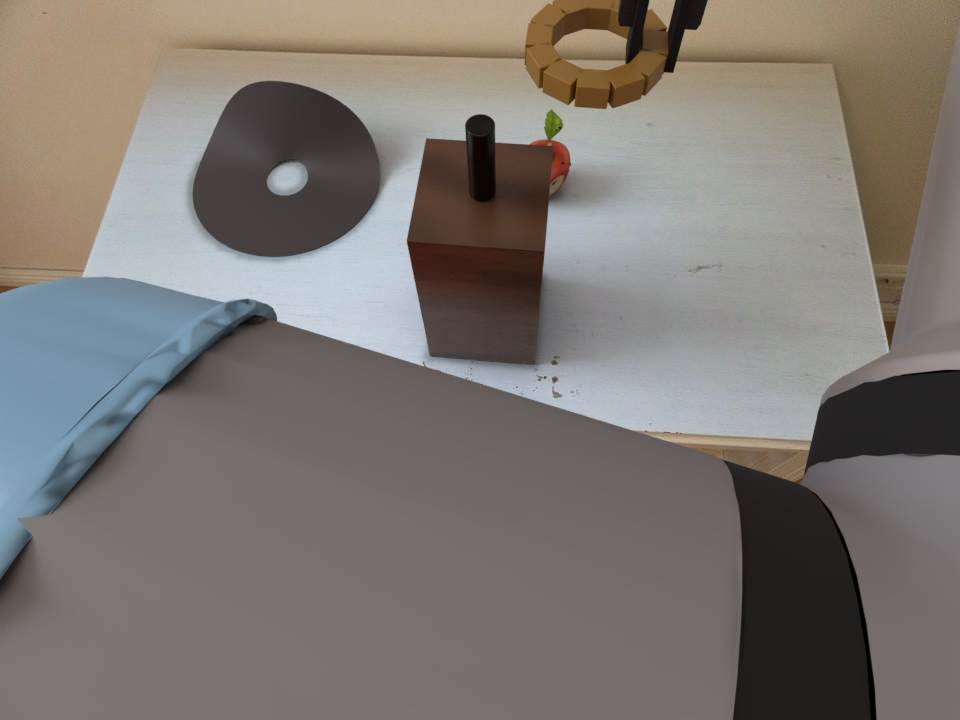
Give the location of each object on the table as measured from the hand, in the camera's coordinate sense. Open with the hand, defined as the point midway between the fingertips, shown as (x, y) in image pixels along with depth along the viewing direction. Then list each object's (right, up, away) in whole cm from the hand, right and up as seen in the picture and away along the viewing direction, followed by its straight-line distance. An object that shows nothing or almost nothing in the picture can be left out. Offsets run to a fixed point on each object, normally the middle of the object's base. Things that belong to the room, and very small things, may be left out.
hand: (649, 59), depth 55 cm
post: (-13, -9, +7) cm, 17 cm away
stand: (-13, -19, +27) cm, 35 cm away
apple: (-6, -1, +36) cm, 36 cm away
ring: (-4, 0, +1) cm, 4 cm away
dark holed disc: (-40, -2, +36) cm, 54 cm away
